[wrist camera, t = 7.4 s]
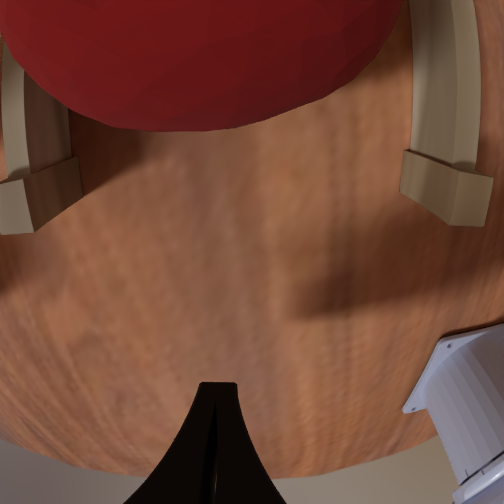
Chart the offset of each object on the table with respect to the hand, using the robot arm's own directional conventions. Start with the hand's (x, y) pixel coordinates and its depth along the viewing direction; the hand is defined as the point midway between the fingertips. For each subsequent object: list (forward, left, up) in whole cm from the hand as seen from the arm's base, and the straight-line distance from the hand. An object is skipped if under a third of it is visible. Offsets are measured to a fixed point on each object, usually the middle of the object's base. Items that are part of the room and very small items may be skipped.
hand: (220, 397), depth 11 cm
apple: (0, -14, -4) cm, 15 cm away
